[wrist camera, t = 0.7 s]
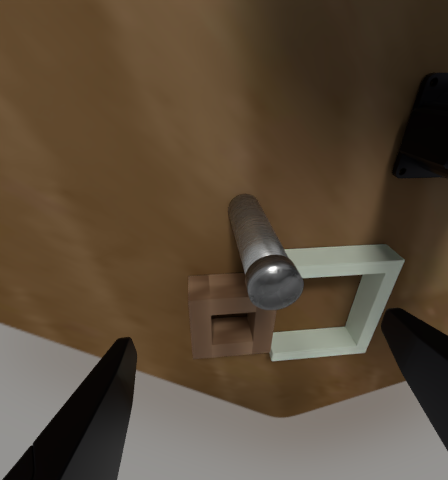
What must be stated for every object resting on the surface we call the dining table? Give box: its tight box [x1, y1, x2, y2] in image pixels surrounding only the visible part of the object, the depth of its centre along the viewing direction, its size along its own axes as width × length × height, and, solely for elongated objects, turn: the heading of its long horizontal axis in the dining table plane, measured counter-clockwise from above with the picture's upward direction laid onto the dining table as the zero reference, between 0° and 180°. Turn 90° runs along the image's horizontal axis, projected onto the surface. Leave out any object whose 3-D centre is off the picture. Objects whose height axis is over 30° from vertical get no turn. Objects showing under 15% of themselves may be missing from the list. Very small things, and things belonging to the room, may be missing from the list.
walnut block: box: [188, 273, 276, 359], centre depth 24 cm, size 7×7×3 cm
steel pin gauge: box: [228, 194, 304, 310], centre depth 16 cm, size 3×3×9 cm
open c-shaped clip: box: [269, 244, 405, 361], centre depth 25 cm, size 10×11×2 cm
